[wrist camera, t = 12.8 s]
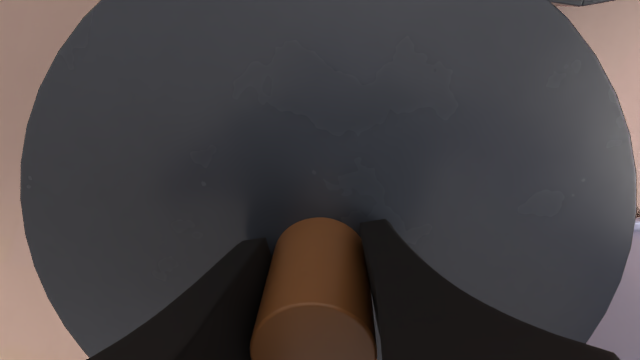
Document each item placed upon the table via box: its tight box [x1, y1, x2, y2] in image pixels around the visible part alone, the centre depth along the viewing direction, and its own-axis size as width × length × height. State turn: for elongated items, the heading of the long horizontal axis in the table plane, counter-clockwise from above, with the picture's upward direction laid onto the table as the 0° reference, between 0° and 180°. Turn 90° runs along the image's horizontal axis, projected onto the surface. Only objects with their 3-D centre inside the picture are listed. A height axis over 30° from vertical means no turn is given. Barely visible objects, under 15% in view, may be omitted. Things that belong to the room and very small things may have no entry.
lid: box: [20, 0, 637, 360], centre depth 10 cm, size 15×15×4 cm
